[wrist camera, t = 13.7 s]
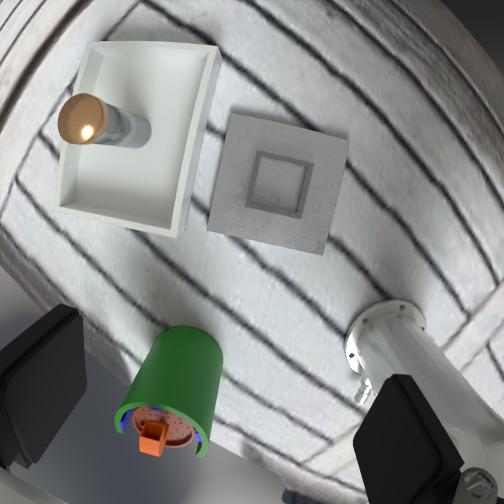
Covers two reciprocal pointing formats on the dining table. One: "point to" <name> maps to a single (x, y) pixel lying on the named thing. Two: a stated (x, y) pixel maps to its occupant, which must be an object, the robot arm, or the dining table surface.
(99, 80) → the bin
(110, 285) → the dining table surface
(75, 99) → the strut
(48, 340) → the robot arm
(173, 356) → the motor
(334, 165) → the socket plate
